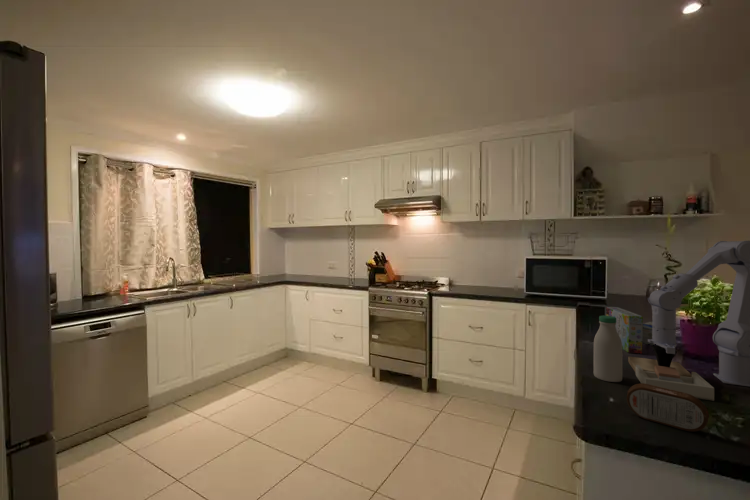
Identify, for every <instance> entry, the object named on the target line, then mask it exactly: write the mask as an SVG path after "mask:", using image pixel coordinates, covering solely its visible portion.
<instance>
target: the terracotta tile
mask: <svg viewBox="0 0 750 500" xmlns="http://www.w3.org/2000/svg"><path fill="white" fill-rule="evenodd" d="M654 371H655V373H656V375H657V376H658V378H659V376H665V377H673V378H680V375H679V373H678V372H677V370H676V369H675V368H673V367H665V366H657V365H655V370H654Z"/></svg>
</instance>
